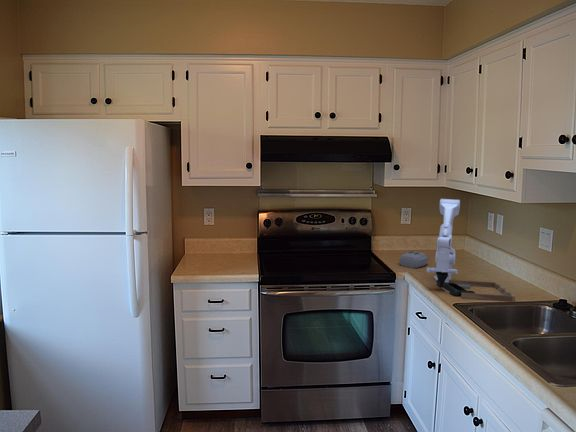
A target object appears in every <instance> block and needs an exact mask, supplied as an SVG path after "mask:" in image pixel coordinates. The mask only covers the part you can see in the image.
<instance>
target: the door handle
mask: <svg viewBox="0 0 576 432" xmlns="http://www.w3.org/2000/svg"><path fill="white" fill-rule="evenodd" d="M435 283H436V284H437V285H438V286H439V282H438V280H435ZM471 287H472V286H469V285H457V284H455V283H450V282H444V284H443V287H440V288H441V289H442V290H444V291H445V292H446V293H448V294H451V295H453V296H454V297H458V296H461V293H476V292H475V291H474V290H471Z"/></svg>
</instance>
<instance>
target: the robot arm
mask: <svg viewBox="0 0 576 432" xmlns="http://www.w3.org/2000/svg"><path fill="white" fill-rule="evenodd" d="M460 206H461V200H460V199H452V198H451V199H449V198H440V200H439V212H440V213H439V214H440V215H442V216H443V223H442V224H441V225H440V227H439V234H438V237H437V241H436V244H437V245H436V252H435V257H434V258H435V259H434V260H435V263H436V264H435V266H436V267H426V272H427V273H435V275H434V276H433V278H434V280H435V281H437V280H438V282H439V285H438V288H441V287H443V284H444V282H449V280H452V274H455V275H458V270H457V268H453V266H454V265H455V263H456V249H454V248H453V247H452V241H453V239H452V236H453V223H454V219H455V217H457V216H459V213H460V208H461V207H460Z"/></svg>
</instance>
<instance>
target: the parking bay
mask: <svg viewBox="0 0 576 432" xmlns="http://www.w3.org/2000/svg"><path fill="white" fill-rule="evenodd" d="M449 282H450V283H455V284H457V285H469V286H471V287H483V288H495V289H496V290H497V291H498V292H500V293H501V294H491V293H476V292H475V293H461V295H460V298H461V299H465V300H466V299H467V300H484V301H485V300H486V301H500V302H501V301H502V302H516V296H515V295H514V294H513V293H511V292H510V291H509V290H507V289H506V288H505V287H504V286H502V285H501V284H500V283H499V282H495V281H481V280H463V279H451V280H449Z"/></svg>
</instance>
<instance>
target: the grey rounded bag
mask: <svg viewBox="0 0 576 432" xmlns="http://www.w3.org/2000/svg"><path fill="white" fill-rule="evenodd" d="M398 261H399V265H400V266H402V267H403V268H404V267H405V268H410V269H417V268H418V269H419V268H423V267H425V266H426V265H427V264H428V263H429V261H430V259H429V256H428V255H427V254H426V253H424V252H419V251H408V252H406V253H403V254H401V255H400V257H399V260H398Z"/></svg>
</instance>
